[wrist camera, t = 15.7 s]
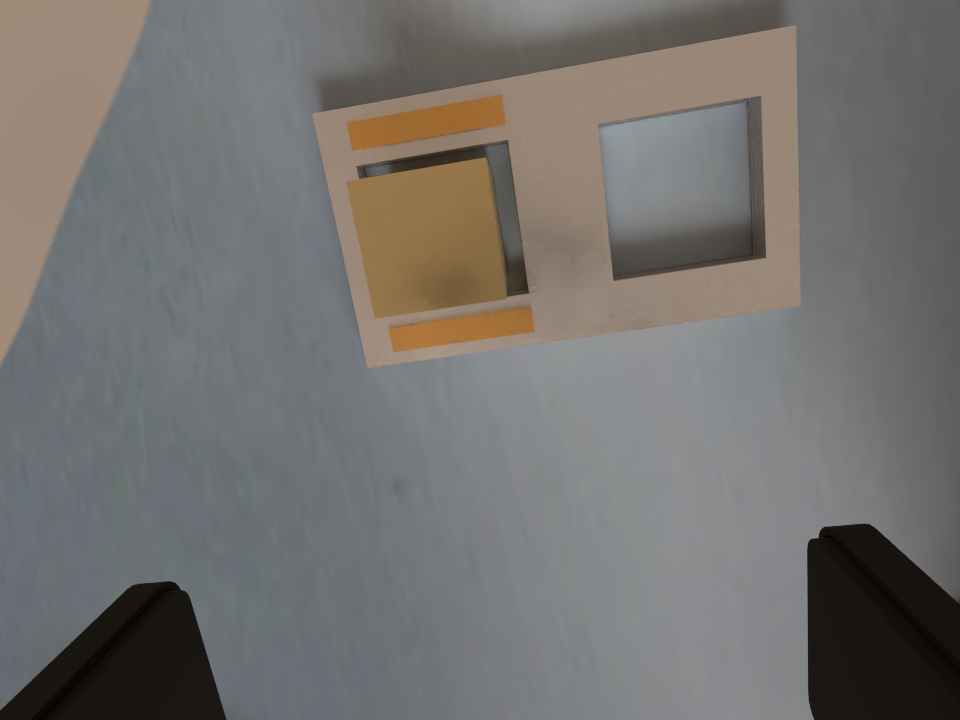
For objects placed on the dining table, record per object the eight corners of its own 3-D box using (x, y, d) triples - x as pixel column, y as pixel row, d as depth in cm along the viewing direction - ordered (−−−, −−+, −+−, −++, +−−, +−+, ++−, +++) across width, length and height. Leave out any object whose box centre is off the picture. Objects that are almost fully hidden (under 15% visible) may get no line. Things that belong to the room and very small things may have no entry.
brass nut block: (491, 169, 28) (485, 157, 20) (507, 272, 29) (506, 299, 21) (390, 186, 28) (345, 181, 20) (409, 287, 29) (374, 318, 22)
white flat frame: (779, 34, 26) (798, 23, 24) (785, 300, 29) (802, 307, 27) (322, 118, 27) (310, 112, 26) (374, 359, 31) (366, 369, 29)
